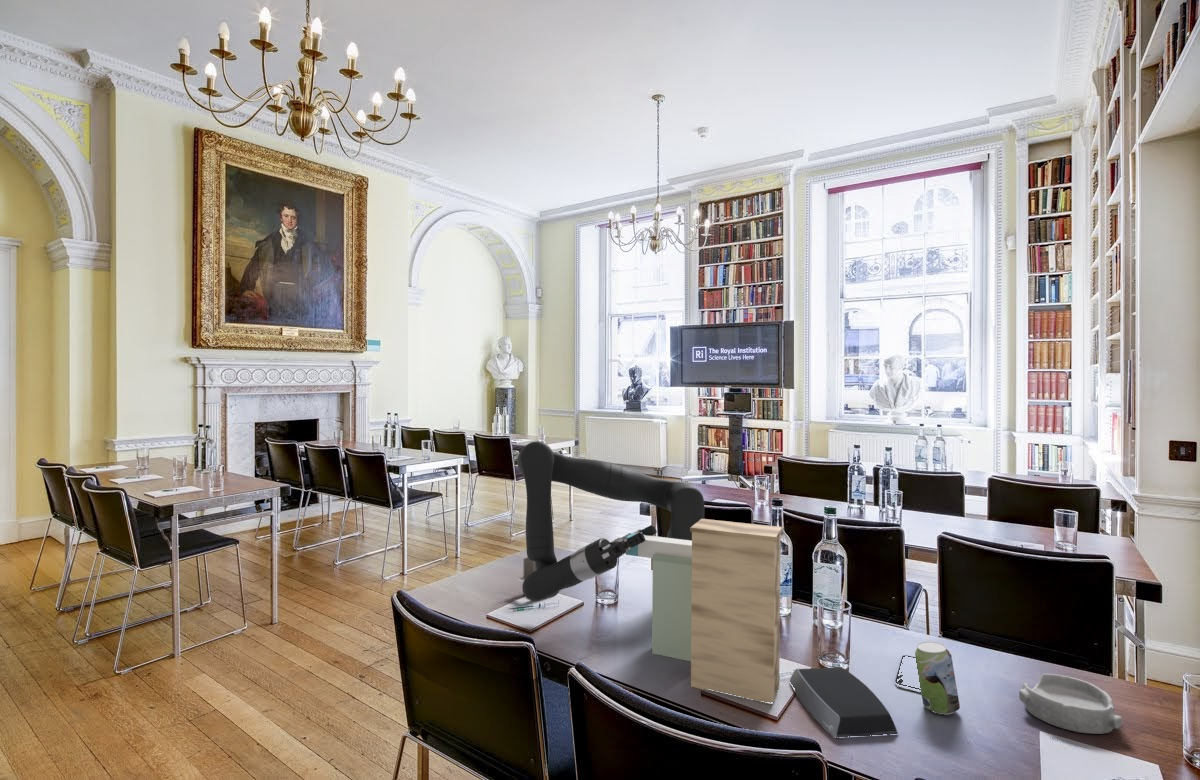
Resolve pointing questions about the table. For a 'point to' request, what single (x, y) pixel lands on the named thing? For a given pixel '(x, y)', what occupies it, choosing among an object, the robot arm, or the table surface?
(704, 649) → the oak stand
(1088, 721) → the dish
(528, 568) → the architectural model
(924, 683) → the beverage can
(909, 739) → the table surface
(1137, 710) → the table surface
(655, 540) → the white teal square bar
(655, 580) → the sage green upright box
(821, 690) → the external hard drive
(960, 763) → the table surface
